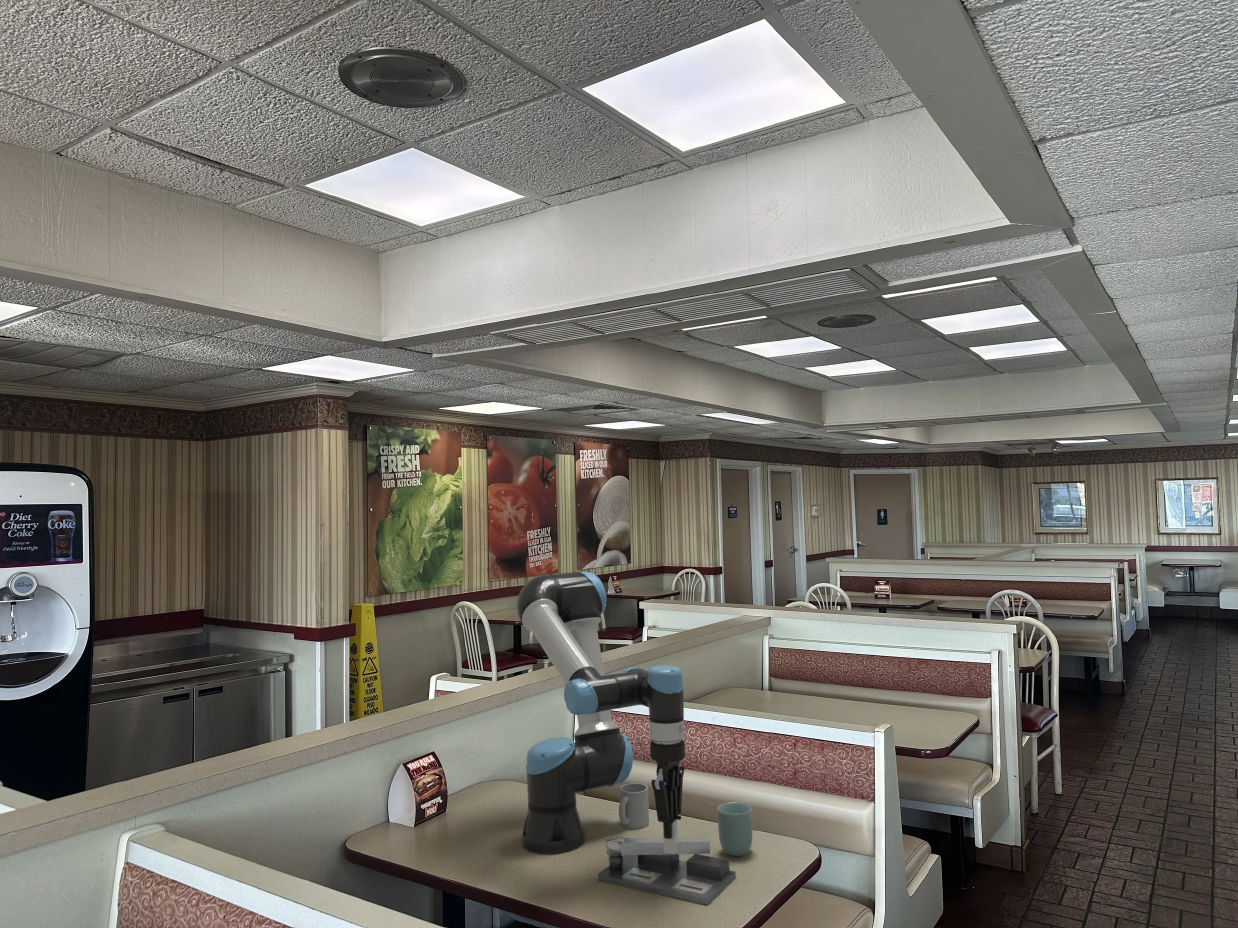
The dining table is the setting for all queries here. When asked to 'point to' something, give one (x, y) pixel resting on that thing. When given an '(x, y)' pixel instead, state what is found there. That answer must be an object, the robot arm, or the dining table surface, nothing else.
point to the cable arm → (655, 845)
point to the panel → (671, 875)
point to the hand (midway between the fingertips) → (670, 851)
